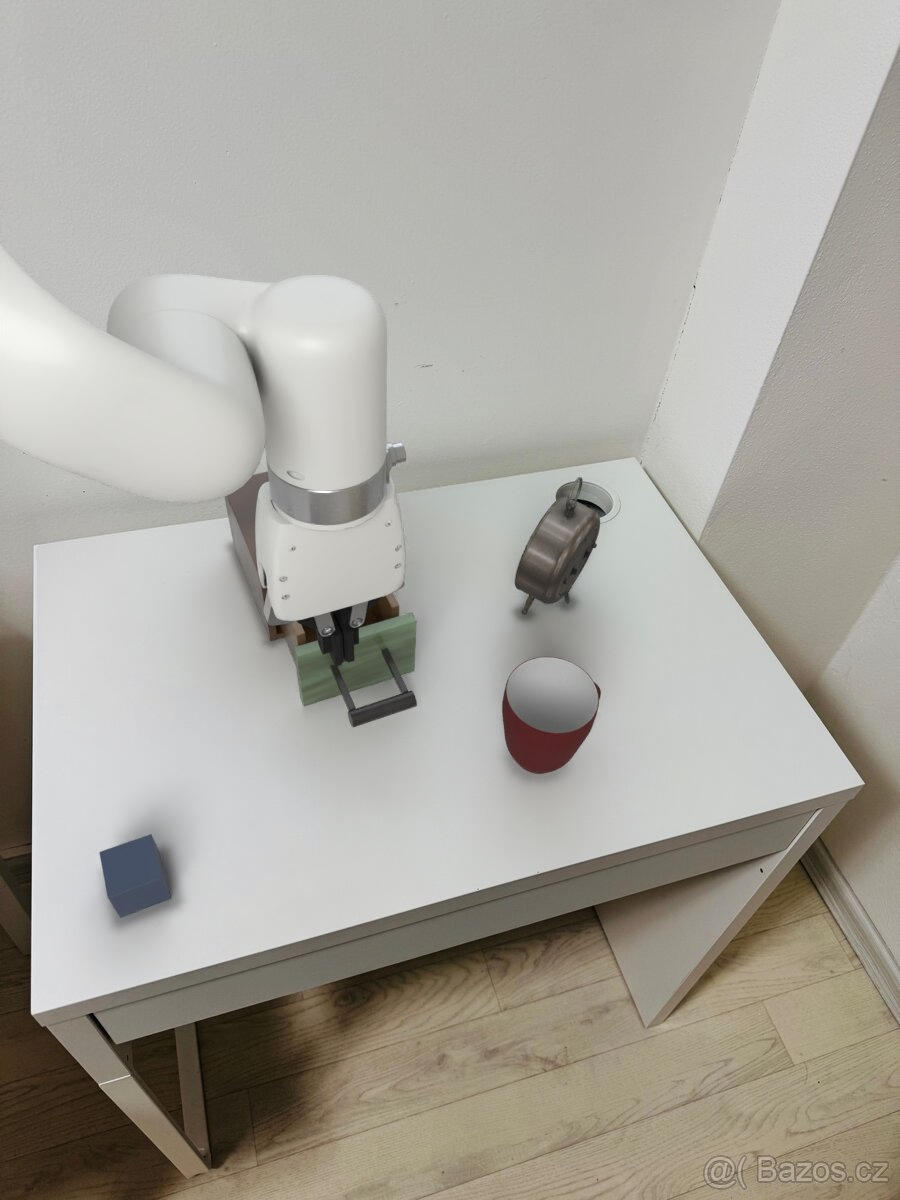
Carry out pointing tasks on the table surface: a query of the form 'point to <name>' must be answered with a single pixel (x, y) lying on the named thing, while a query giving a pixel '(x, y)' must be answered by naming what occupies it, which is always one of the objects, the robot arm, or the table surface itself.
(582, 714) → the mug
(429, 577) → the table surface
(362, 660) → the drawer
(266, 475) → the cabinet
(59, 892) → the table surface
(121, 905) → the block
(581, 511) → the alarm clock
